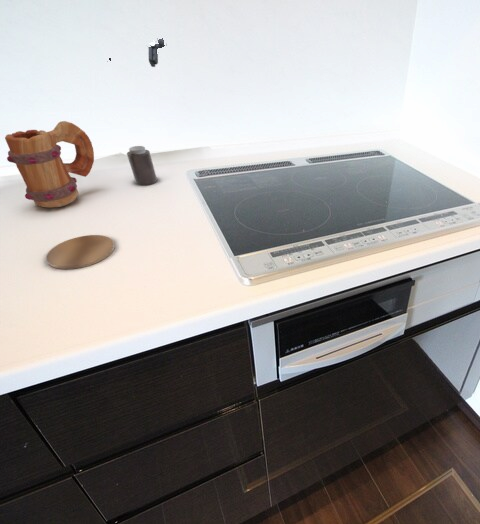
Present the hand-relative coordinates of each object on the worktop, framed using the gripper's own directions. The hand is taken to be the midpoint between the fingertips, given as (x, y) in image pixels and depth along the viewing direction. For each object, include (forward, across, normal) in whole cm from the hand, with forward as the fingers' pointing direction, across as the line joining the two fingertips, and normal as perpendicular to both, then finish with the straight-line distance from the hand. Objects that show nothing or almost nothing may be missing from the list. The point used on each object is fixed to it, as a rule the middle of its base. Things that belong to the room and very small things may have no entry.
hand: (131, 63), depth 82 cm
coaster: (+46, -3, -13) cm, 48 cm away
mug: (+31, -13, +2) cm, 34 cm away
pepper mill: (+25, 0, +8) cm, 26 cm away
